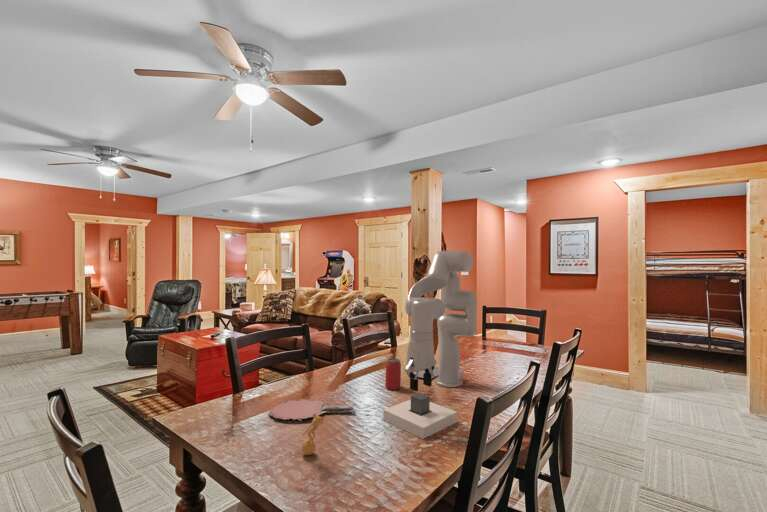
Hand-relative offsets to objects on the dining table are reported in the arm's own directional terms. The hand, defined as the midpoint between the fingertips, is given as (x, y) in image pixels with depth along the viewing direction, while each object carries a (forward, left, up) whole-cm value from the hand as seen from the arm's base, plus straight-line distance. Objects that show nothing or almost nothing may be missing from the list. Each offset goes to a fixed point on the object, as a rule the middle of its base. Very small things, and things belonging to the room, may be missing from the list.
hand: (420, 387), depth 126 cm
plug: (0, 0, -11) cm, 11 cm away
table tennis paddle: (+25, -31, -12) cm, 41 cm away
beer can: (-16, -29, -12) cm, 35 cm away
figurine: (+40, -6, -12) cm, 42 cm away
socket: (0, 0, -12) cm, 12 cm away
